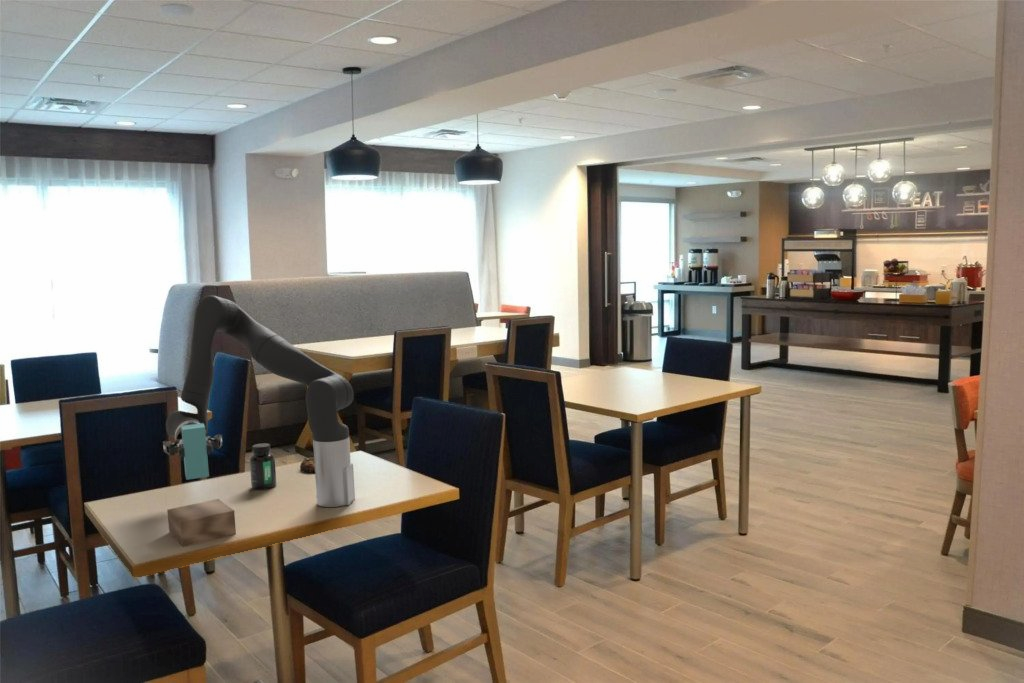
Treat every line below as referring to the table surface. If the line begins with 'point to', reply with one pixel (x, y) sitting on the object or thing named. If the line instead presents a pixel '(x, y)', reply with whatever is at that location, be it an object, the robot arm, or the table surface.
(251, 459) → the supplement bottle
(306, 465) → the bread roll
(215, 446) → the robot arm
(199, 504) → the walnut block
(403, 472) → the table surface
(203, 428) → the teal post
